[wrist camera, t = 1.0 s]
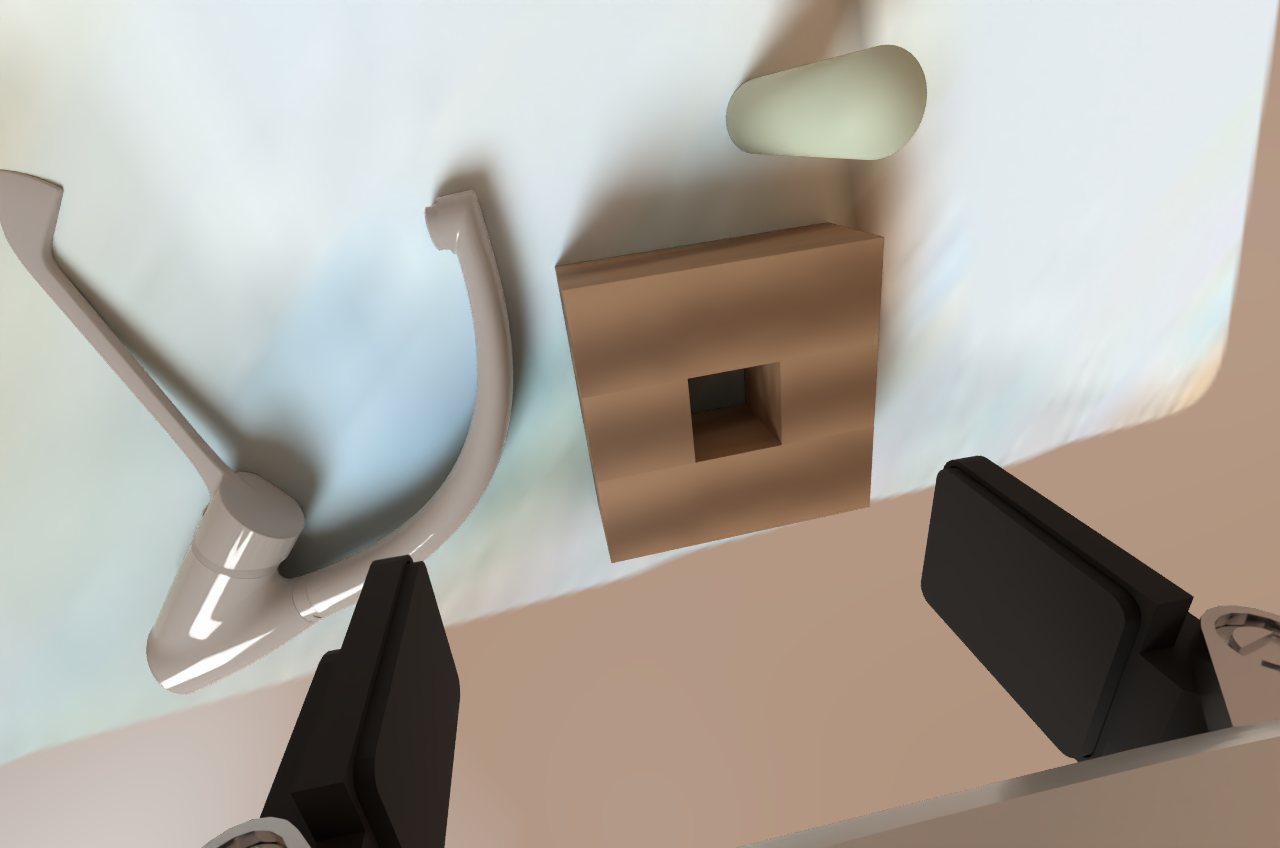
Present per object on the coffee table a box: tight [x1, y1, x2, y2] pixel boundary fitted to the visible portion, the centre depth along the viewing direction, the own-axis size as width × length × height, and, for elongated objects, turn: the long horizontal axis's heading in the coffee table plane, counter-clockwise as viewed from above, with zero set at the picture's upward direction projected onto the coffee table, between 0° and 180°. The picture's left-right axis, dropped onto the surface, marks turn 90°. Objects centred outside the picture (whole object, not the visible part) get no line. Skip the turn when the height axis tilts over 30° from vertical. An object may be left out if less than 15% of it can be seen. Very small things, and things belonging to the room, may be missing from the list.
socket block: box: [555, 223, 884, 563], centre depth 35 cm, size 16×16×6 cm
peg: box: [726, 45, 927, 160], centre depth 27 cm, size 4×4×12 cm
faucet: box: [0, 170, 513, 694], centre depth 32 cm, size 5×28×28 cm
